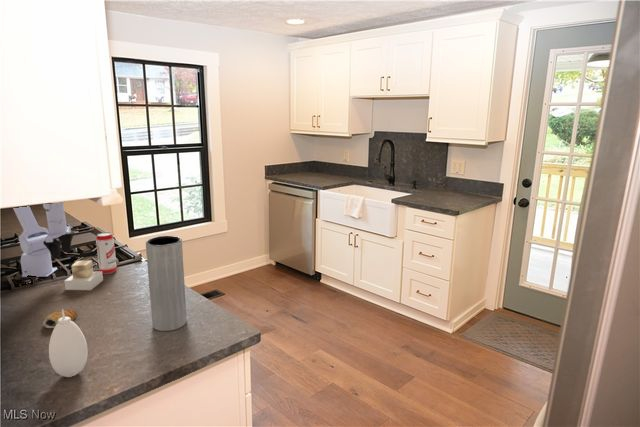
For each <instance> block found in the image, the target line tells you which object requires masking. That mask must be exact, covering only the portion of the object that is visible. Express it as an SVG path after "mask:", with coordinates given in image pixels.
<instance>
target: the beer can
mask: <svg viewBox="0 0 640 427" xmlns="http://www.w3.org/2000/svg"><path fill="white" fill-rule="evenodd" d="M95 243H96V244H95V245H96V253H97V261H98V271H102V275H111V274H113V273H115V272H116V271H117V269H118V267H117V258H116V249H115V247H116V246H115V239H114V236H113V235H112V232H111V231H110V232H109V231H106V232H100V233H97V234H96V238H95Z"/></svg>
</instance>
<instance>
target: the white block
mask: <svg viewBox="0 0 640 427" xmlns="http://www.w3.org/2000/svg"><path fill="white" fill-rule="evenodd" d="M103 275H104V274H102V271H99V270H96V271H94V270H93V274H92V275H90V276H89V277H88V278H73V274H72V275H70V276H69V277H67V278H65V279H64V286H65V291H92V290H93V289H94V288H96V287H97V286H98V285H99V284H100V283H102V282H103V281H104V276H103Z"/></svg>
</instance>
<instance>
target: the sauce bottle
mask: <svg viewBox="0 0 640 427" xmlns="http://www.w3.org/2000/svg"><path fill="white" fill-rule="evenodd" d="M61 310H62V318H60V319H58V324H57V325H56V326H55V328H53V330H52V332H51V335H50V338H49V345H48V357H49V362H50V364H51V367H52V369H53V370H54V371H55V372H56V374H58V375H59V376H61V377H65V378H71V377H72V376H73V377H75V376H77V375H78V374H80V372H81V371H82V370H83V369H84V367H85V365H86V363H87V360H88V355H89V354H88V343H87V340H86V337H85V335H84V333H83V331H82V330H81V329H80V328H79V327H80V326H78V325H77V323H75V322H74V320H73V321H71V318H70V317H65V314H64V310H65V309H64V308H62V309H61ZM73 377H72V378H73Z"/></svg>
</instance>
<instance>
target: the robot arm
mask: <svg viewBox="0 0 640 427" xmlns="http://www.w3.org/2000/svg"><path fill="white" fill-rule="evenodd" d="M42 207H43V209H45V214H46V219H47V220H46V221H47V228H48V229H47V228H45V227H43V226H40V225H39V224H38V221H37V220H36V218H35V216H34V213H33V211H32V209H31V207H30V205H29V206H27V207H19V208H13V207H12V209H13V211H14V213H15V216H16V217H17V219H18V221H19V224H20V226H21V227H22V230H23V231H22V232H21V234H20V235H19V236H18V241H19V243H20V244H19V246H20V249H21V251H22V252H23V253H22V254H21V255H20V256H21V257H20V266H21V273H22V275H21V277H22V278H28V277H27V276H28V275H32V276H36V277H35V278H37V277H38V278H39V277H49V276H50V275H52V274H54V272H56V271H57V270H58V267H53V263H52V259H53V260H59V259H60V258H61V249H62V251H63V253H69V252H70V251H71V246H72V245H71V244H72V241H73V237H74V236H75V232H74V231H73V232H72V230H71V229H72V228H71V226H68V225H67V220H66V219H67V218H66V211H65V206H64V202H60V203H53V204H43V203H42Z"/></svg>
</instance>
